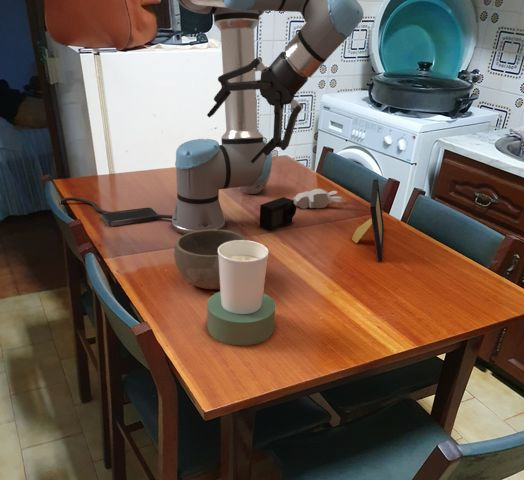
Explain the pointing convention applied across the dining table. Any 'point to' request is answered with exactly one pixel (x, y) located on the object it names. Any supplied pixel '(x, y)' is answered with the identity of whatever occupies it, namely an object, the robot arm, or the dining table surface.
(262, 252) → the candle holder
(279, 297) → the dining table surface
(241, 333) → the stand
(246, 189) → the teacup
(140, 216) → the phone
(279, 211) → the digital camera
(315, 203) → the bunny figurine
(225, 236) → the bowl
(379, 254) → the picture frame
